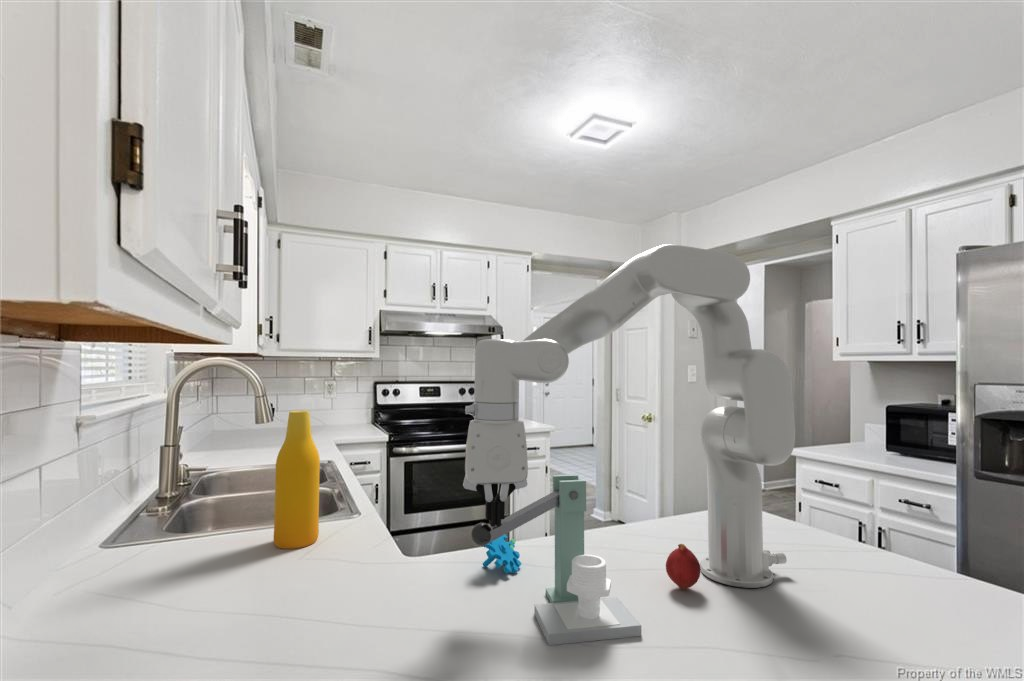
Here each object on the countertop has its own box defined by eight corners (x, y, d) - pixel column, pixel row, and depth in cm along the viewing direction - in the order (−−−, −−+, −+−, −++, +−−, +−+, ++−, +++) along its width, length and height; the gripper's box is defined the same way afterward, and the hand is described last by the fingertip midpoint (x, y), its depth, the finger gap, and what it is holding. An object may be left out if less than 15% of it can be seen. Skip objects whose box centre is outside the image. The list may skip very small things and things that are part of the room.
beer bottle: (326, 541, 112) (329, 411, 114) (285, 553, 105) (288, 414, 107) (306, 532, 118) (308, 408, 120) (266, 542, 111) (269, 411, 113)
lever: (578, 489, 88) (570, 471, 88) (585, 494, 84) (576, 475, 84) (475, 545, 84) (466, 526, 84) (477, 553, 81) (468, 533, 81)
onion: (676, 579, 93) (675, 535, 93) (706, 589, 89) (705, 543, 89) (660, 589, 89) (659, 543, 89) (691, 600, 85) (690, 551, 85)
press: (602, 588, 89) (601, 473, 90) (641, 635, 73) (640, 495, 74) (525, 594, 86) (525, 475, 87) (548, 645, 71) (548, 500, 72)
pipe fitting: (612, 605, 79) (611, 554, 79) (608, 629, 72) (607, 572, 72) (572, 600, 81) (571, 550, 81) (564, 622, 74) (564, 567, 74)
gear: (507, 574, 91) (477, 528, 95) (486, 594, 92) (456, 547, 96) (533, 562, 100) (504, 520, 105) (513, 580, 102) (485, 538, 106)
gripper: (453, 415, 79) (450, 533, 78) (545, 414, 82) (544, 529, 81) (450, 410, 86) (448, 519, 85) (534, 410, 89) (533, 515, 88)
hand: (494, 523), depth 83 cm, fingers closed
